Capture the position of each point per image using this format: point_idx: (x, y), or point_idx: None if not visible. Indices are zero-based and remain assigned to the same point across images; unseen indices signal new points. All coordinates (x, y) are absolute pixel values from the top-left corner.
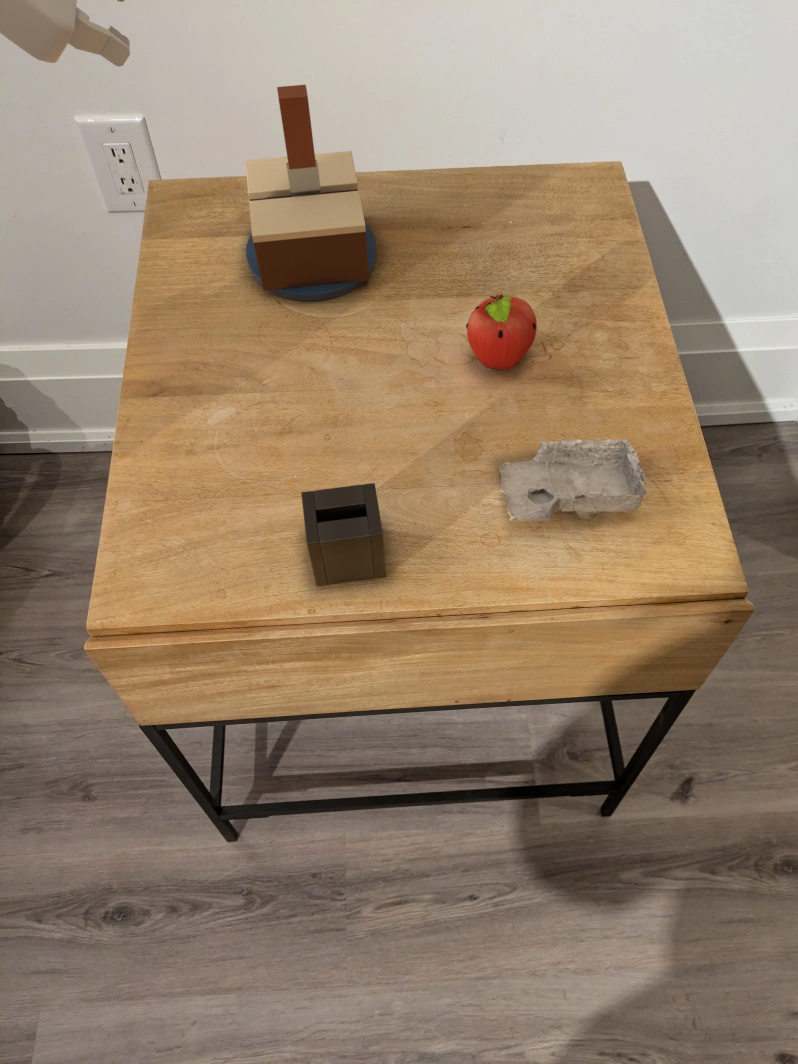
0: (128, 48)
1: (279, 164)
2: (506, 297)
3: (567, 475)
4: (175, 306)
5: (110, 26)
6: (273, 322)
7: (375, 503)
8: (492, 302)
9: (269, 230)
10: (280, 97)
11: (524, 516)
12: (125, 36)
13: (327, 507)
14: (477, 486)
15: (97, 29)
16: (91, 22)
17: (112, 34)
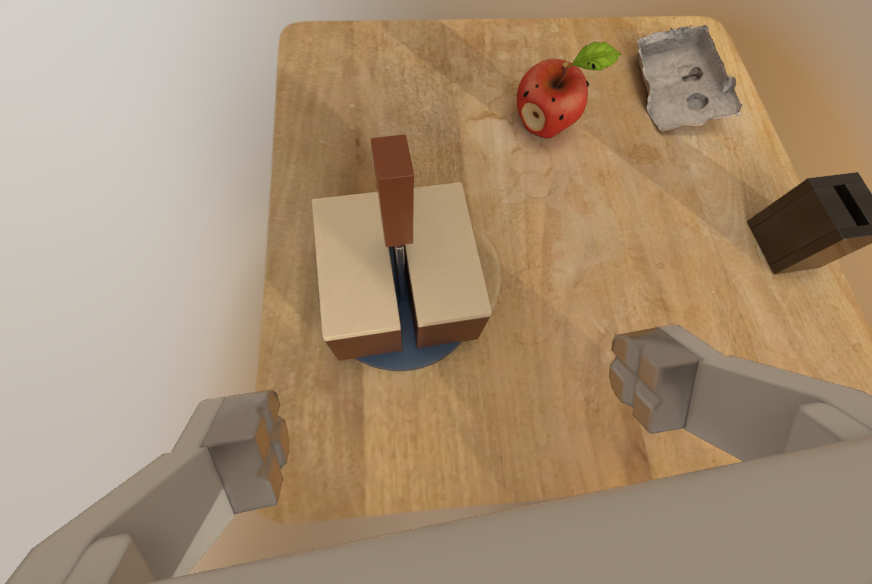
0: (670, 325)
1: (335, 288)
2: (592, 46)
3: (660, 88)
4: (497, 455)
5: (662, 369)
6: (513, 329)
7: (828, 177)
8: (590, 63)
9: (478, 291)
10: (410, 173)
11: (730, 107)
12: (627, 338)
13: (850, 215)
14: (682, 149)
15: (803, 375)
16: (814, 393)
17: (701, 355)
